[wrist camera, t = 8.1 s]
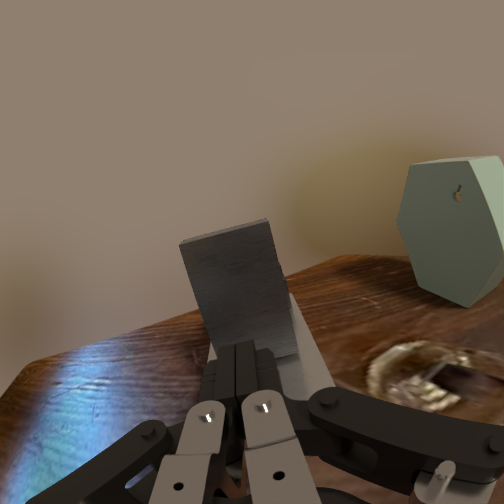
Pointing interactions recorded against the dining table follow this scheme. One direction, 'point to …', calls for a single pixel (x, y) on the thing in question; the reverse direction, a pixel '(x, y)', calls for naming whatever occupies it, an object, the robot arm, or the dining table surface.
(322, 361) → the white rectangular holder
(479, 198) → the mint hexagonal prism
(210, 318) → the dark grey tapered block
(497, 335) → the dining table surface
